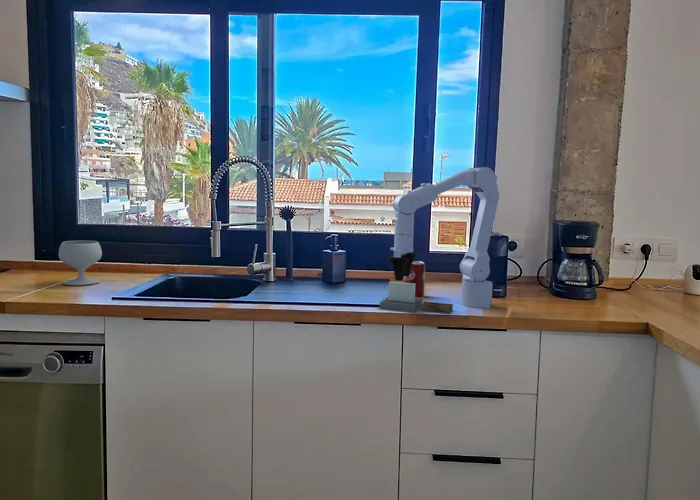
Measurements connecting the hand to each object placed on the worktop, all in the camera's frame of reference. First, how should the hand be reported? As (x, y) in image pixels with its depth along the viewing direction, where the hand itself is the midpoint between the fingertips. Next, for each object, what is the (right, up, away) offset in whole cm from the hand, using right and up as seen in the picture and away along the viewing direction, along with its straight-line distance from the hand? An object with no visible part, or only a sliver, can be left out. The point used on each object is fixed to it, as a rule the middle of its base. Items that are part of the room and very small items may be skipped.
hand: (402, 278), depth 167 cm
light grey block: (0, -9, +1) cm, 9 cm away
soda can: (+6, -8, +20) cm, 22 cm away
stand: (+10, -10, -3) cm, 15 cm away
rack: (0, -10, +1) cm, 10 cm away
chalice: (-113, -4, +30) cm, 117 cm away
